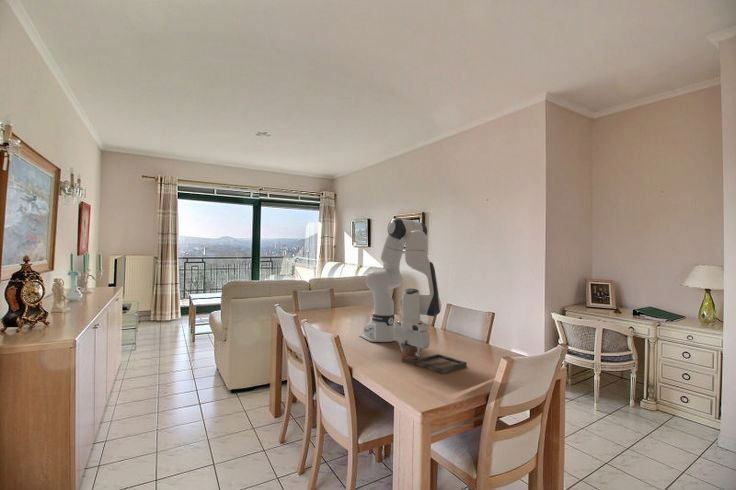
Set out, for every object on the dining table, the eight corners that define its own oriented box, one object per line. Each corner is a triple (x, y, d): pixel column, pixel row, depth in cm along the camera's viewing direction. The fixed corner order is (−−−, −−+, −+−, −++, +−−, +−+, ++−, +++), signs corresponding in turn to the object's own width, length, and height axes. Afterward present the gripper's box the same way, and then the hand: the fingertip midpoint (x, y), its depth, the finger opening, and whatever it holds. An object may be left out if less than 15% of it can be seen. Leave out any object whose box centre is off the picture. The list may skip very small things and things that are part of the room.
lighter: (403, 362, 160) (403, 340, 160) (400, 360, 163) (400, 338, 164) (419, 361, 162) (419, 339, 163) (416, 359, 166) (416, 338, 166)
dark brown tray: (415, 364, 158) (415, 360, 158) (438, 358, 168) (438, 353, 168) (443, 374, 145) (443, 369, 145) (466, 366, 156) (466, 362, 156)
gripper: (390, 321, 169) (390, 350, 169) (422, 328, 154) (422, 360, 153) (399, 319, 173) (399, 348, 173) (431, 327, 158) (431, 358, 157)
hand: (410, 354), depth 163 cm, fingers open, 8 cm apart
